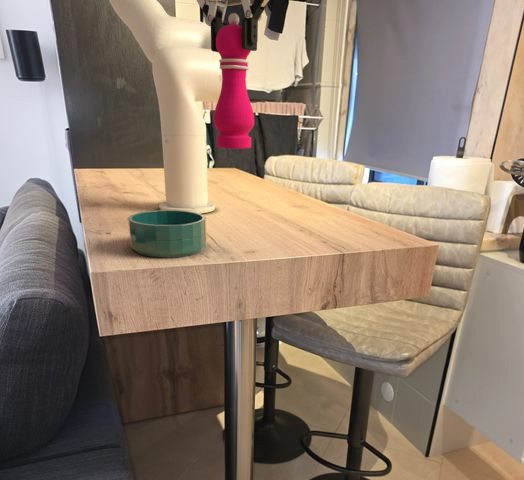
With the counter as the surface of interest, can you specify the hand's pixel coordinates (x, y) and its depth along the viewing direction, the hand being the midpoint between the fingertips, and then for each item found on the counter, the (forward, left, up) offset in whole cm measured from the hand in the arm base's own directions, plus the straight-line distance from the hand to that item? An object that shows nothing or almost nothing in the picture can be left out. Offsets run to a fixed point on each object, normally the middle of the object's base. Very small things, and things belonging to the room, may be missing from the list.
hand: (233, 49), depth 76 cm
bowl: (+12, -15, -30) cm, 35 cm away
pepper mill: (0, 0, -15) cm, 15 cm away
